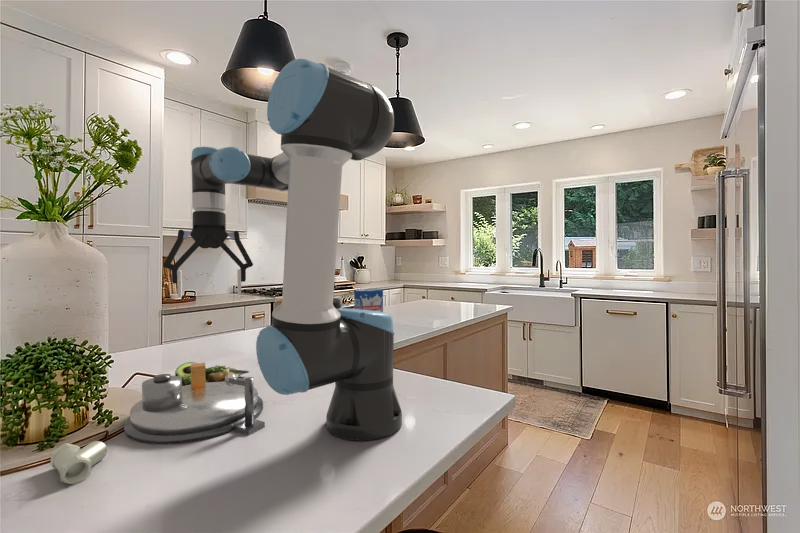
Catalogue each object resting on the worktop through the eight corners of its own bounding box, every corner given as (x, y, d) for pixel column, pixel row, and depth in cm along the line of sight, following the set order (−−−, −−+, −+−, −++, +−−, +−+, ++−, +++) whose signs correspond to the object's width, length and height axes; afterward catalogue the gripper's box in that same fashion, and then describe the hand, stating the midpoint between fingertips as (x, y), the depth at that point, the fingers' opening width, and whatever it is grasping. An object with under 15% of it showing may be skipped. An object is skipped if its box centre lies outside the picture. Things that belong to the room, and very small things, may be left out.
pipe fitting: (101, 457, 68) (49, 470, 63) (103, 434, 68) (51, 445, 63) (116, 473, 63) (61, 489, 58) (117, 448, 63) (63, 462, 58)
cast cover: (181, 407, 80) (180, 378, 80) (140, 414, 77) (139, 383, 77) (182, 396, 86) (182, 369, 86) (144, 402, 83) (144, 373, 83)
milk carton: (360, 342, 155) (360, 291, 154) (354, 339, 160) (354, 289, 160) (383, 339, 160) (383, 290, 159) (376, 336, 165) (376, 288, 165)
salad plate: (251, 369, 119) (251, 354, 119) (245, 389, 102) (245, 371, 102) (179, 375, 114) (179, 359, 114) (160, 396, 97) (160, 377, 97)
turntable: (265, 419, 79) (265, 384, 79) (119, 445, 68) (119, 405, 68) (251, 384, 101) (251, 356, 100) (139, 399, 90) (138, 369, 90)
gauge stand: (264, 426, 79) (264, 375, 79) (248, 435, 75) (248, 381, 75) (235, 419, 82) (234, 370, 82) (218, 426, 79) (218, 375, 79)
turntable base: (271, 426, 79) (271, 421, 79) (111, 456, 67) (111, 450, 67) (255, 387, 102) (255, 383, 102) (134, 404, 90) (134, 400, 90)
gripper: (260, 214, 108) (261, 292, 109) (153, 210, 98) (155, 296, 99) (262, 212, 102) (263, 294, 102) (148, 207, 91) (150, 299, 92)
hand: (210, 295), depth 100 cm, fingers open, 13 cm apart
